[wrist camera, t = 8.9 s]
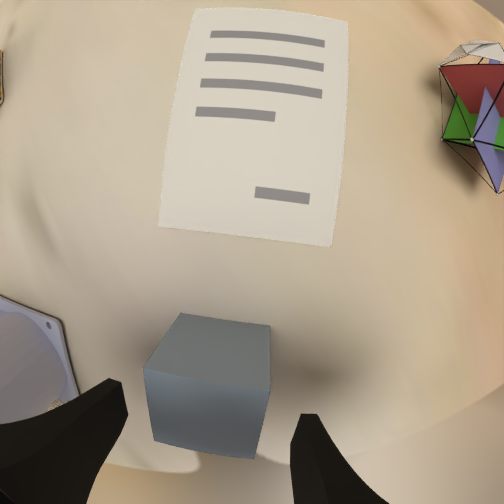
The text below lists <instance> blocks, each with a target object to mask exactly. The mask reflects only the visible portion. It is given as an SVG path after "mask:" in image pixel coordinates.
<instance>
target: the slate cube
mask: <svg viewBox="0 0 504 504" xmlns="http://www.w3.org/2000/svg"><path fill="white" fill-rule="evenodd" d="M143 372H144V380H145V388H146V396H147V402H148V409H149V415H150V421H151V427H152V432H153V437H154V441H157V442H160V443H164V444H168V445H172V446H176V447H180V448H185V449H189V450H194V451H199V452H205V453H210V454H216V455H223V456H230V457H237V458H246V459H254V457H255V453H256V449H257V445H258V441H259V437H260V433H261V429H262V425H263V420H264V416H265V412H266V407H267V403H268V398H269V394H270V326H268V325H260V324H252V323H244V322H237V321H230V320H223V319H216V318H210V317H203V316H197V315H191V314H185V313H180V314H179V316H178V317H177V319H176V320H175V322H174V323H173V325H172V326H171V327H170V329H169V330H168V332H167V333H166V335H165V336H164V338H163V339H162V340H161V342H160V343H159V345H158V346H157V348H156V349H155V351H154V352H153V354H152V355H151V357H150V358H149V360H148V361H147V363H146V364H145V365H144V367H143Z"/></svg>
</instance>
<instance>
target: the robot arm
mask: <svg viewBox="0 0 504 504" xmlns="http://www.w3.org/2000/svg"><path fill="white" fill-rule="evenodd" d="M56 399H58V400H60V401H62V402H64V403H65V404H63V405H61V406H59V407H57V408H55V409H53V410H50V411H48V412H46V413H45V411H46V410H47V409H48V408H49V407H50V406H51V405H52V404H53V403H54V401H55V400H56ZM127 417H128V411H127V407H126V403H125V398H124V393H123V388H122V383H121V382H119V381H116V380H113V379H110V378H108V379H107V380H105V381H103V382H101V383H100V384H98V385H96V386H95V387H93V388H92V389H90V390H88V391H87V392H85V393H83V394H81V395H80V396H79V393H78V390H77V386H76V383H75V380H74V376H73V373H72V369H71V365H70V361H69V357H68V353H67V349H66V345H65V340H64V335H63V330H62V326H61V323H60V322H59V321H58V320H57V319H55V318H53V317H50V316H47V315H45V314H42V313H39V312H37V311H34V310H32V309H29V308H27V307H24V306H22V305H20V304H17V303H15V302H13V301H10V300H8V299H6V298H4V297H1V296H0V504H86V503H87V500H88V497H89V494H90V491H91V488H92V486H93V483H94V481H95V478H96V476H97V474H98V472H99V470H100V468H101V466H102V464H103V463H104V461H105V459H106V458H107V456H108V454H109V453H110V451H111V449H112V448H113V446H114V444H115V443H116V441H117V439H118V437H119V436H120V434H121V432H122V429H123V427H124V425H125V422H126V419H127ZM290 468H291V479H292V488H293V497H294V504H389V503H388V502H386V501H385V500H384V499H382V498H381V497H380V496H379V495H377V494H376V493H375V492H374V491H373V490H372V489H371V488H370V487H369V486H368V485H367V484H366V483H365V482H364V481H363V480H362V479H361V478H360V477H359V476H358V475H357V474H356V472H355V471H354V470H353V469H352V467H351V466H350V465H349V464H348V462H347V461H346V460H345V458H344V457H343V456H342V454H341V453H340V451H339V450H338V448H337V447H336V445H335V444H334V442H333V441H332V439H331V438H330V436H329V434H328V433H327V431H326V429H325V427H324V426H323V424H322V422H321V420H320V418H319V416H318V415H317V414H301V415H300V418H299V421H298V424H297V427H296V430H295V433H294V435H293V438H292V441H291V444H290Z"/></svg>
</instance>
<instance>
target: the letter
mask: <svg viewBox="0 0 504 504" xmlns="http://www.w3.org/2000/svg"><path fill="white" fill-rule="evenodd" d="M347 91H348V22H346V21H342V20H337V19H333V18H328V17H323V16H318V15H312V14H306V13H299V12H292V11H284V10H273V9H260V8H201V9H195V11H194V14H193V18H192V21H191V25H190V28H189V32H188V36H187V40H186V44H185V48H184V52H183V56H182V60H181V65H180V69H179V74H178V79H177V84H176V89H175V94H174V99H173V105H172V111H171V117H170V123H169V129H168V136H167V143H166V151H165V159H164V167H163V176H162V186H161V198H160V210H159V226H158V227H166V228H176V229H185V230H194V231H202V232H211V233H220V234H228V235H237V236H245V237H254V238H262V239H270V240H278V241H286V242H294V243H302V244H310V245H317V246H325V247H331V246H332V239H333V233H334V227H335V220H336V213H337V205H338V198H339V190H340V181H341V172H342V163H343V152H344V141H345V128H346V112H347Z"/></svg>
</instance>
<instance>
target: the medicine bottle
mask: <svg viewBox="0 0 504 504" xmlns="http://www.w3.org/2000/svg"><path fill="white" fill-rule="evenodd" d="M2 101H3V91H2V51H1V50H0V104H1V103H2Z"/></svg>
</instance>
